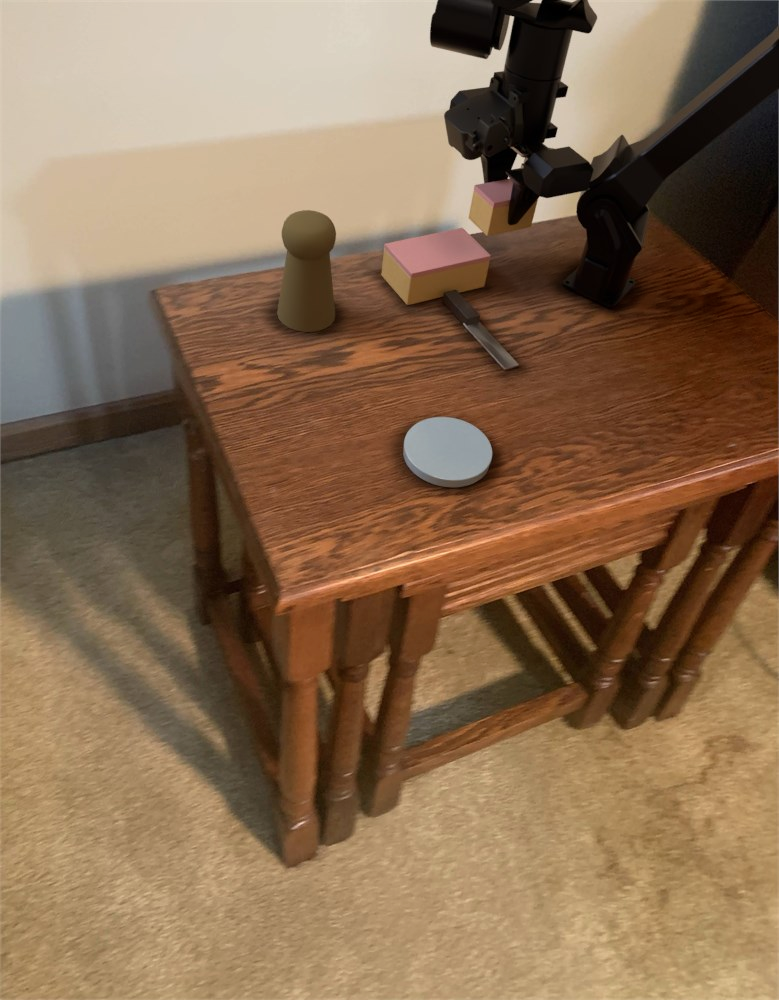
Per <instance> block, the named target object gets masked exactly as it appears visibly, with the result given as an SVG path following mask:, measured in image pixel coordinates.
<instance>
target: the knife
mask: <svg viewBox="0 0 779 1000" xmlns="http://www.w3.org/2000/svg"><path fill="white" fill-rule="evenodd" d="M442 303H443V304H444V306H446V308H447V309H448V310H449V311H450V312H451V313H452V314H453V315H454V316H455V318H457V320H458V321H459V322H460V323H461V324H462V326H463V327H464V328H465V330H466V331H467V332H468V333H469V334H470V335H471V336H472V337H473V339H475V341H476V342H477V343H478V344H479V345H480V346H481V347H482V349H483V350H485V352H486V353H487V354H488V355H489V356H490V357H491V359H492V360H494V362H495V363H496V364H497V365H498V366H499V367H500V369H502V371H503V372H506V371H509V370H513V369H516V368H519V366H520V364H519V363H518V361H516V359H515V358H513V356H511V354H510V353H509V352H508V351H507V350H506V349H505V347H504V346H503V345H502V344H501V343H500V342H499V341H498V340H497V339H496V338H495V336H493V335H492V333H490V332H489V330H488V329H487V328H486V327H485V326H484V325H483V324H482V323H481V322H480V319H481V314H479V312H478V311H477V310H476V309H475V308H474V307H473V306H472V305H471V304H470V303H469V302H468V301H467V299H466V298H465V297H464V296H463V295H462V294H461V292H460V293H459V292H458V291H457V290H451V291H447V292H444V294H443V297H442Z"/></svg>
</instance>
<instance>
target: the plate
mask: <svg viewBox="0 0 779 1000" xmlns="http://www.w3.org/2000/svg"><path fill="white" fill-rule="evenodd" d="M402 457H403V459H404V462H405V464H406V466H407V467H408V469H409V470H410V471H411V472H412V473H413V474H414V475H416V476H417V477H418V478H419V479H421V480H423V481H424V482H427V483H429V484H432V485H435V486H438V487H443V488H463V487H467V486H471V485H473V484H475V483H477V482H478V481H480V480H481V479H483V478H484V477H485V476H486V475H487V473H488V471H489V470H490V467H491V464H492V459H493V447H492V445H491V442H490V440H489V438H488V437H487V436H486V434H485V433H484V432H483V431H482V430H481V429H479V428H478V427H477V426H475V425H473V424H472V423H469V422H467V421H465V420H462V419H460V418H456V417H449V416H433V417H428V418H426V419H422V420H420V421H418V422H417V423H415V424H414V425H412V426H411V427H410V428H409V430H408V431H407V433H406V435H405V436H404V441H403V446H402Z"/></svg>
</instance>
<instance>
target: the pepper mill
mask: <svg viewBox="0 0 779 1000" xmlns="http://www.w3.org/2000/svg"><path fill="white" fill-rule="evenodd" d="M336 240H337V231H336V227H335V224H334V222H333V220H332V219H331V218H330V217H329V216H328V215H326V214H325V213H323V212H320V211H316V210H311V209H305V210H304V209H303V210H298V211H295V212H293V213H290V214H289V215H288V216H287V217H286V219H285V220H284V221H283V225H282V227H281V241H282V244H283V246H284V248H285V250H286V256H285V260H284V268H283V274H282V279H281V285H280V294H279V297H278V298H279V299H278V305H277V311H276V314H277V318H278V321H280V323H281V324H282V325H283V326H285V327H287V328H288V329H291V330H294V331H296V332H304V333H313V332H319V331H322V330H323V331H324V330H326V329H327V328H328V327H330V326H331V325H332V324H333V323H334V322H335V319H336V308H335V296H334V287H333V286H334V285H333V276H332V265H331V263H332V262H331V255H330V253H331V251H332V250H333V249H334V248H335V244H336Z"/></svg>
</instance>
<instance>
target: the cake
mask: <svg viewBox="0 0 779 1000" xmlns="http://www.w3.org/2000/svg"><path fill="white" fill-rule="evenodd" d="M383 248H384V249H383V255H382V256H383V257H382V266H381V277H382V278H383V279H384V281H386V283H387V284H388V285H389V287H391V288H392V290H393V291H394V292H395V293H396V294H397V296H398V297H399V298H400V299H401V300H402V301H403V302H404V303H405V304H406V305H405V306H410V305H415V304H419V303H423V302H428V301H431V300H435V299H439V298H443V294H444V292H447V291H451V290H457V291H458V292H459V293H460V294H461V293H464V292H468V291H472V290H473V291H474V290H476V289H480V288H485V286H486V282H487V281H486V279H487V275H488V272H489V266H490V263H491V257H492V256H491V254H490V253H489V252H488V251H487V250H486V248H484V247H483V246H482V245H481V244H480V243H479V242H478V241H477V240H476V239H474V237H473V236H471V234H470V233H469V232H468V231H466V229H465V228H464V227H459V228H453V229H449V230H444V231H440V232H435V233H430V234H424V235H419V236H416V237H411V238H405V239H401V240H400V239H399V240H396V241H391V242H386V243H384V245H383Z"/></svg>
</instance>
